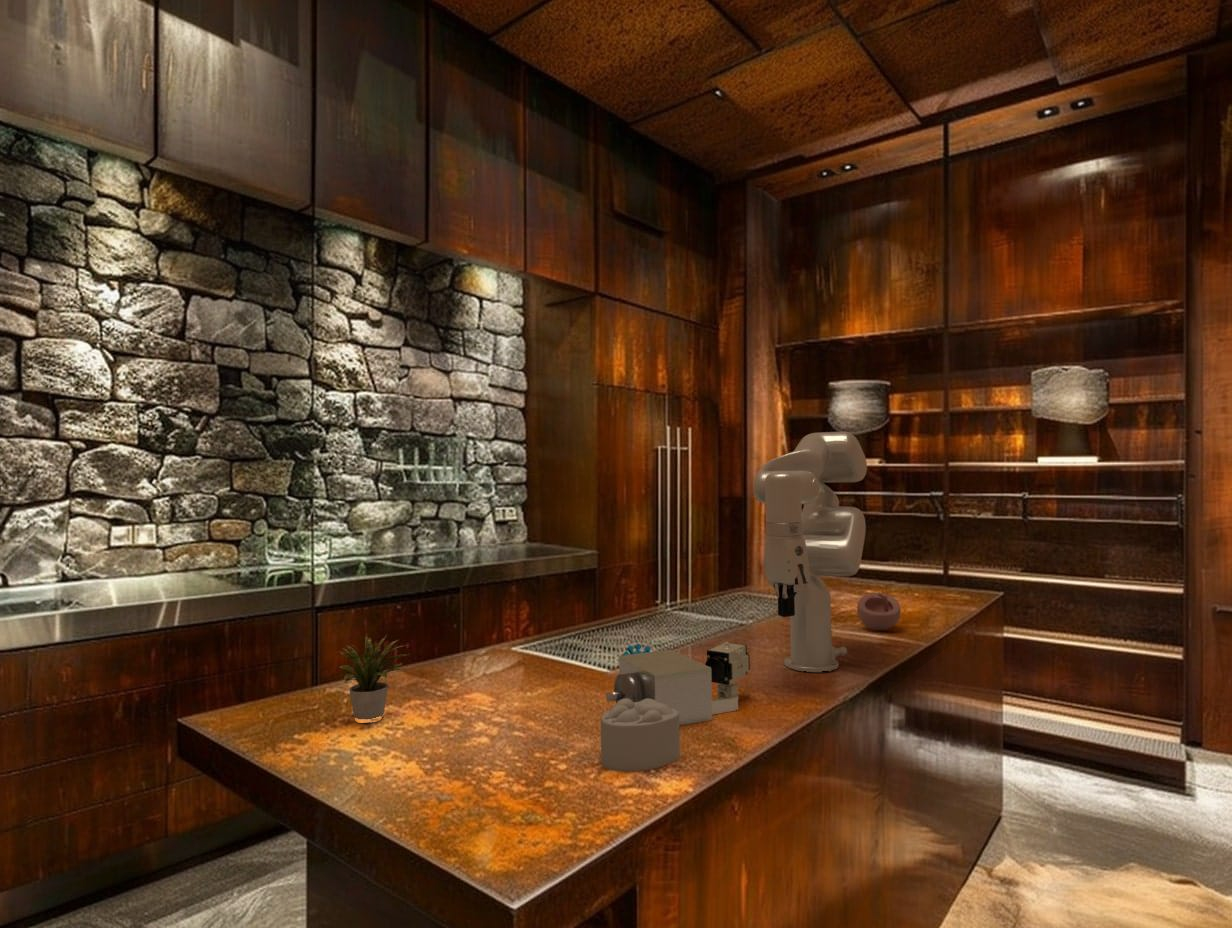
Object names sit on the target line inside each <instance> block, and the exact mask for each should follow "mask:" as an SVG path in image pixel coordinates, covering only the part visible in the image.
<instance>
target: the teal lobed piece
mask: <svg viewBox="0 0 1232 928" xmlns="http://www.w3.org/2000/svg"><path fill="white" fill-rule="evenodd" d="M634 647H635V651H634ZM641 648H642V644H640V643H636V644H635V646H633V645H628V646H627V648H626V650H627V651H624V652H623V654H622V655H621V656H623V655H631V654H639V653H647V652H651V650H652V648H651V647H650V646H648V645H646V646H645V647H644V649H643V651H640V650H641Z"/></svg>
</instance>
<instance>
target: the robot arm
mask: <svg viewBox="0 0 1232 928" xmlns="http://www.w3.org/2000/svg"><path fill="white" fill-rule="evenodd" d="M867 464H868V463H867V459H866V455H865V453H864V450H863V448H862V447H861V444H860V442H859V440H858V439H857V437H856V436H855V435H854V434H853V433H852V432H848V431H829V432H828V431H825V432H824V431H823V432H812V433H809V434H807V435H805V436H803V437H802V438H801V439H800V441H799V443H797V446H796V447H795V449H794V450H793V451H790V452H788V453H786V454H783V455H781V456H777V457H775V458H773V459H770V460H768V461H766V462H765V463H764V464H763V465H761V467H760V468H759V470H758V472H757V473H756V475H755V477H754V480H753V485H752V486H753V488H752V489H753V495H754V497H755V499H756V500H757V501H758V502H759V503H761V504H764V505H765V528H766V531H765V532H766V537H765V543H764V544H765V545H764V562H763V563H764V576H765V578H766V579H767V581H768V584H769V585H770V586H771V587H773V589H774V591H775V592H774V593H775V596H776V597H777V614H778V616H779V617H783V618H789V617H790V618H789V620H790V621H789V622H790V623H789V625H790V627H789V628H790V655H789V656H786V657H785V659H784V666H785V667H787V668H789V669H792V670H794V671H799V672H804V671H806V672H805V673H823V672H822V671H829V672H832V671H831V670H834V669H836V670H838V669H837V668H839V666H840V663H839V661H838V660H837V657H838V656H839V657H840V656H847V655H848V649H847V647H845V646H842V647H841V646H840V647H836V646H833V645H832V613H831V611H832V608H831V607H832V605H831V603H832V602H831V593H830V589H829V587H828V586H827V584H826V583H825V582H824V580H823V579H822V578H821V576H833V577H834V576H837V577H851V576H854V575H856V574H857V573H858V571H859V569H860V566H861V562H862V555H863V550H864V544H865V537H866V531H867V530H866V529H867V526H866V517H865V516H864V513H863V511H861V509H859V508H857V507H855V506H848V505H847V506H845V505H844V506H840V500H839V497H838V495H836V493H835V492H834V490H832V489H831V488H830V486H828V485H826V484H825V483H857V482H860V481H862V480H864V478H865V476H866V475H867V471H868V465H867ZM802 505H803V508H802ZM834 671H835V670H834Z"/></svg>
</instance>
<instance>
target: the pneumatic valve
mask: <svg viewBox="0 0 1232 928" xmlns="http://www.w3.org/2000/svg"><path fill="white" fill-rule="evenodd" d="M747 647H748V646H747V644H743V643H738V642H737V643H735V642H730V641H725V642H723V643H721V644H719V645H717V646H715V647H712V648H711V649H708V650H706V662H705V663H704V665H706V666H709V667H711V677H712V683H715V684H717V685H716V689H717V693H716V696H717V698H716V699H720V698H726V697H732V696H736V697H738V700H739V699H740V697H739V691H740V690H739V683H737V681H738V680H739V679H742V678H744V677H745V676H747V675H748V671H750V669H751V666H750V665H751V661H750V660H751V659H750V656H751V655H750V654H749V652H748V648H747ZM735 682H736V683H735Z"/></svg>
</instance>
